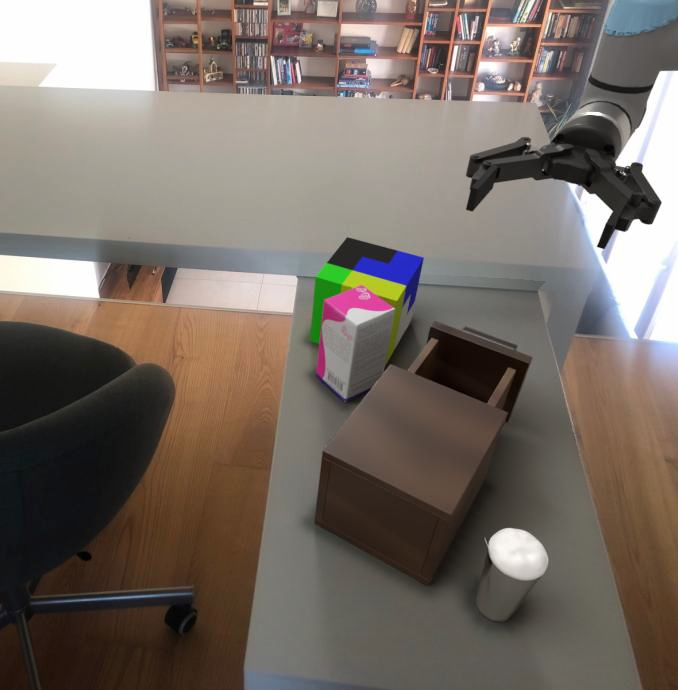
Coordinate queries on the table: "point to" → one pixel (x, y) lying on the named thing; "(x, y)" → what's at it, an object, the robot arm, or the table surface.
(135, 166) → the table surface
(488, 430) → the cabinet
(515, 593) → the milkshake
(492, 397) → the drawer
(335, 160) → the table surface
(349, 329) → the supplement box
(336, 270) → the puzzle toy
